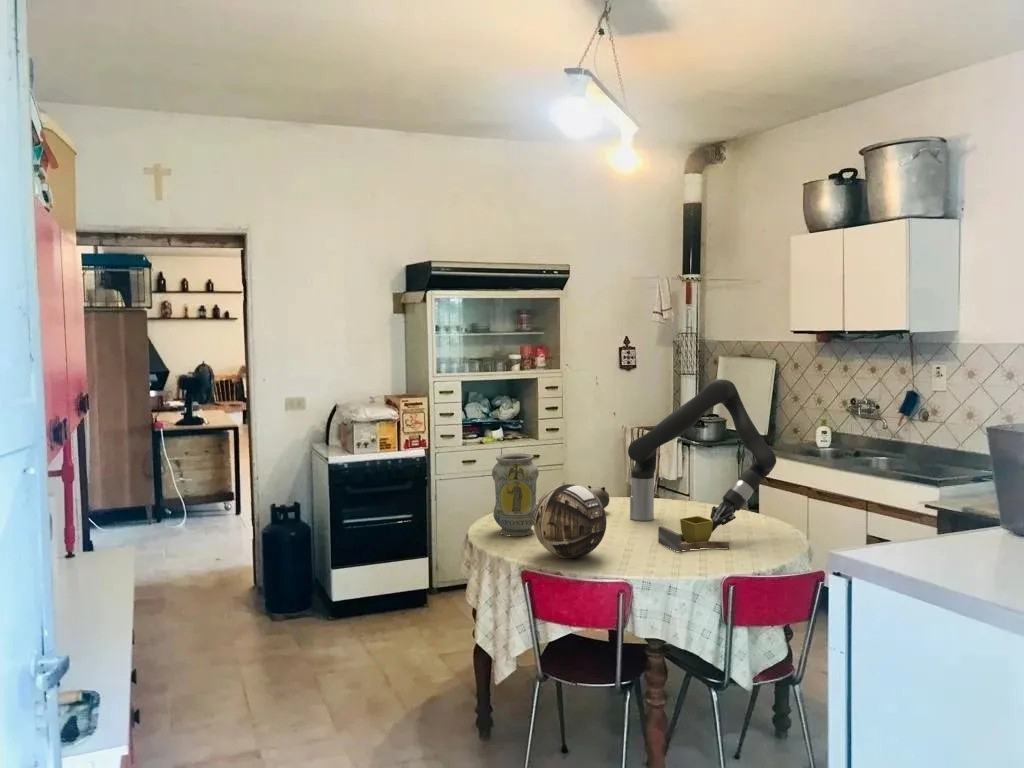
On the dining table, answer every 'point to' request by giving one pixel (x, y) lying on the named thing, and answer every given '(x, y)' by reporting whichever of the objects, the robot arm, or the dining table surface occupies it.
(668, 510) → the dining table surface
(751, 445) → the robot arm
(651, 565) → the dining table surface
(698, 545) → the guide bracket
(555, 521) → the sphere
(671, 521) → the dining table surface
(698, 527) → the flower pot
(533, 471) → the vase
